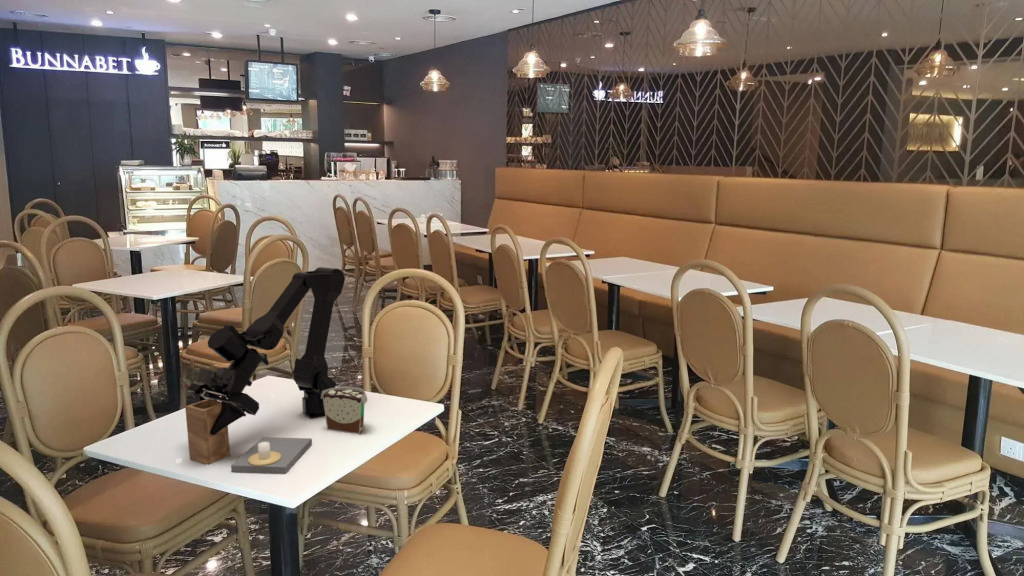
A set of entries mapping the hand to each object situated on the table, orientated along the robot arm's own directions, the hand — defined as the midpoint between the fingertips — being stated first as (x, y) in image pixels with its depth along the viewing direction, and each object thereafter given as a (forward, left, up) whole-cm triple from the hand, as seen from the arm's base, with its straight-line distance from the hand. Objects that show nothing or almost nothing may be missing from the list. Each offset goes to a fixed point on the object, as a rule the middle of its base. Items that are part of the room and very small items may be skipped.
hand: (202, 431), depth 155 cm
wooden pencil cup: (-1, -1, -7) cm, 7 cm away
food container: (-34, 0, -7) cm, 35 cm away
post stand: (-13, +8, -7) cm, 17 cm away
